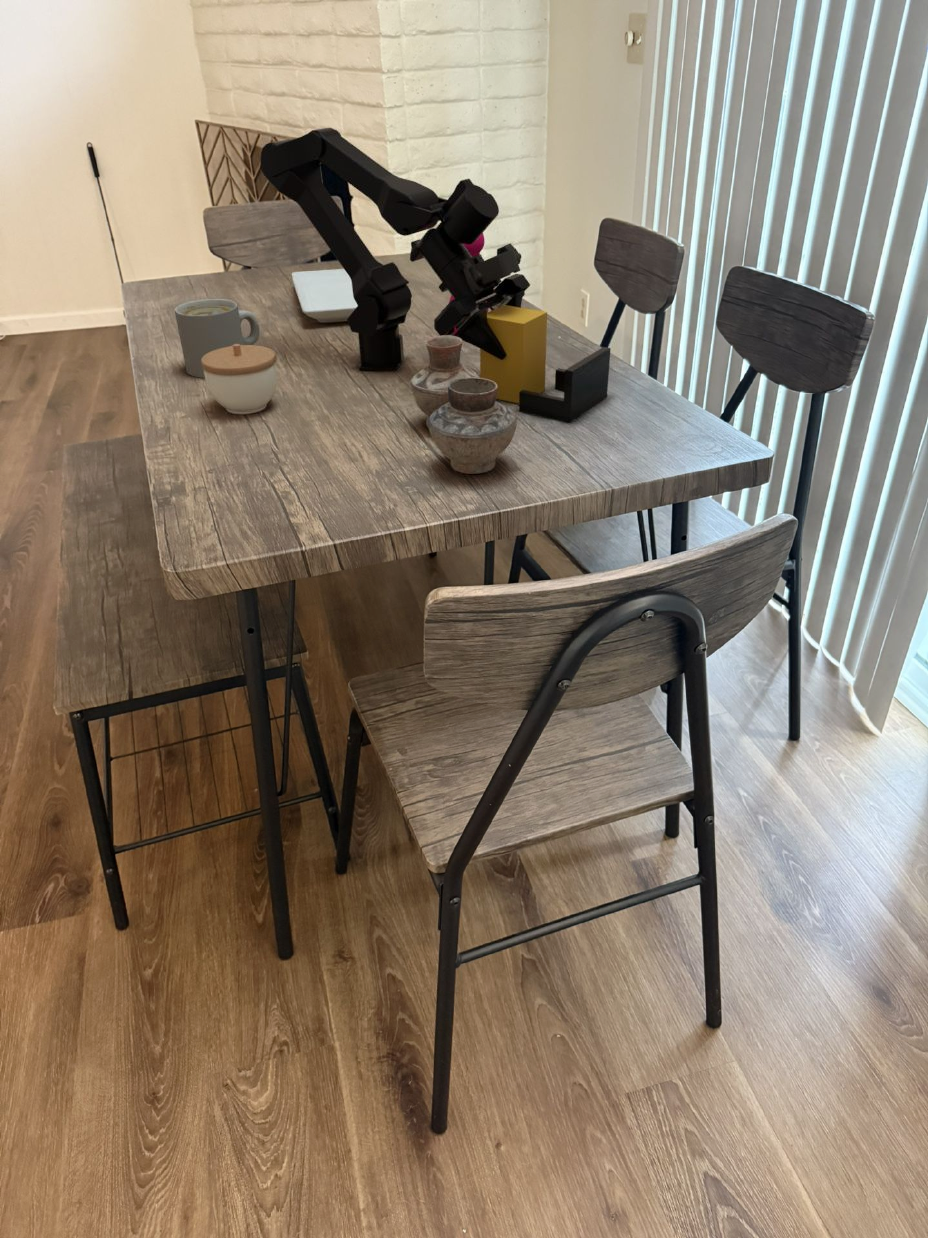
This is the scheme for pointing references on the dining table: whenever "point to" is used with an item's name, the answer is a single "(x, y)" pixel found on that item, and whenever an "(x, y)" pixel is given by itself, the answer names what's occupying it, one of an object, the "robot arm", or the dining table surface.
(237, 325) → the coffee mug
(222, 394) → the trinket box
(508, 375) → the storage box
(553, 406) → the rack
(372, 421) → the dining table surface
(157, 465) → the dining table surface
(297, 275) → the tray
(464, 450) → the pottery
